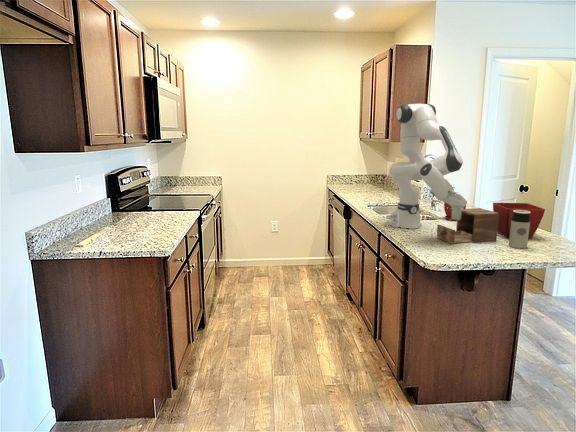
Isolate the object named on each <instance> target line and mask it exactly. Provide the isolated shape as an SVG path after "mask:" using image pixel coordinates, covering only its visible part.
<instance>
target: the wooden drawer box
mask: <svg viewBox="0 0 576 432" xmlns="http://www.w3.org/2000/svg"><path fill="white" fill-rule="evenodd" d="M498 220H499V213H497V212H493V210H489V209H486V208H482V207H478V208H477V207H476V208H466V209H463V210H462V216H461V220H457V221H456V229H455V231H464V232H467V233H469V234H472V235H473V237H472V241H471V243H472V244H479V243H480V244H481V243H491V242H497V237H498V232H497V230H498Z"/></svg>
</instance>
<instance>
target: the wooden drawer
mask: <svg viewBox="0 0 576 432" xmlns="http://www.w3.org/2000/svg"><path fill="white" fill-rule="evenodd" d="M436 228H437V229H436V238H437V239H439V240H441V241H444V242H447V243H449V244H452V245H454V244H456V243H470V242H471V243H472V237H473V235H472V234H469V233H467V232H464V231H456V229H452V228H449V227H447V226H444V225H441V224H437V227H436Z"/></svg>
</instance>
